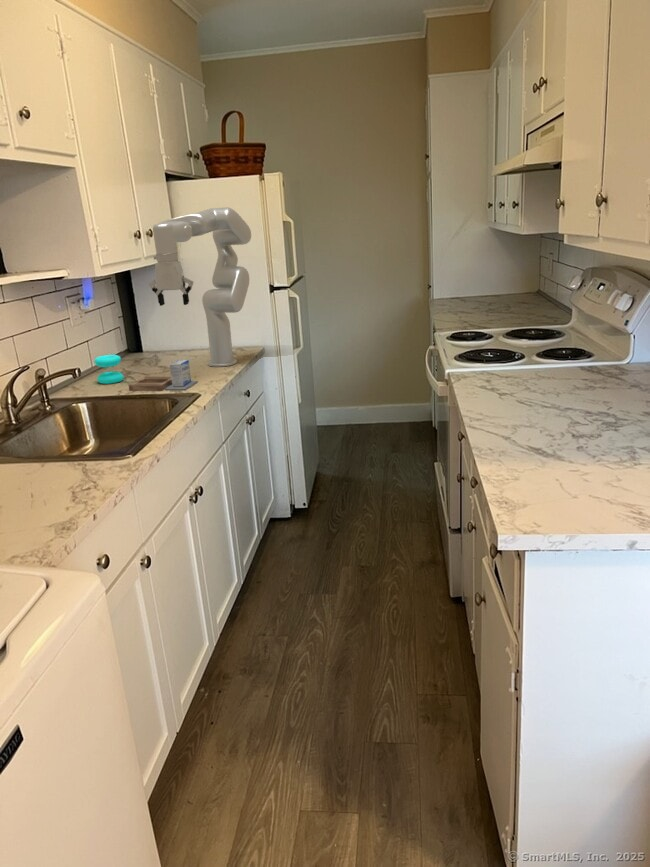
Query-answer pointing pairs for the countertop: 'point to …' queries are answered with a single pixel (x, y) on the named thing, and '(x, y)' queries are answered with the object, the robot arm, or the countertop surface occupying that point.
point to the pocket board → (151, 384)
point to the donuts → (111, 375)
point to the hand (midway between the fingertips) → (174, 304)
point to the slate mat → (182, 387)
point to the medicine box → (180, 373)
